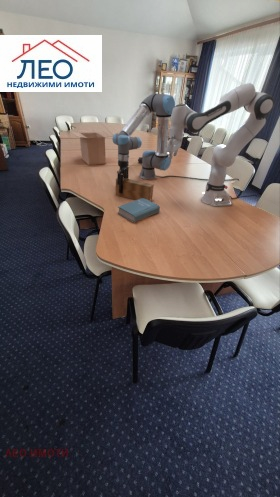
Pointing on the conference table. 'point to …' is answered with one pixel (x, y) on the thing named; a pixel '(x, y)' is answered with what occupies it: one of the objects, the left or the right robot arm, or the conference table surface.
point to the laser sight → (140, 160)
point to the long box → (135, 189)
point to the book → (138, 209)
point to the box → (92, 146)
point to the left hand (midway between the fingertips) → (122, 191)
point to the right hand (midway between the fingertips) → (172, 157)
